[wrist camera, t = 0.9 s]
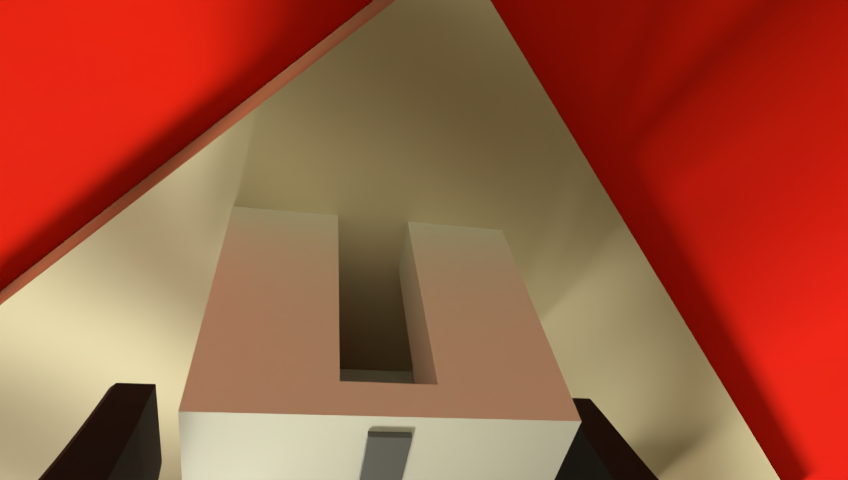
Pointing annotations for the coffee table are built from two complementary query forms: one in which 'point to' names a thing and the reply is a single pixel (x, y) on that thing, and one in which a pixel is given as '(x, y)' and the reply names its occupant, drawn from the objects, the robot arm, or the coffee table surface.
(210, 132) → the board
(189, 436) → the slotted white block
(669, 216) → the coffee table surface
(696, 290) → the coffee table surface
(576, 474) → the robot arm
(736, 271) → the coffee table surface
